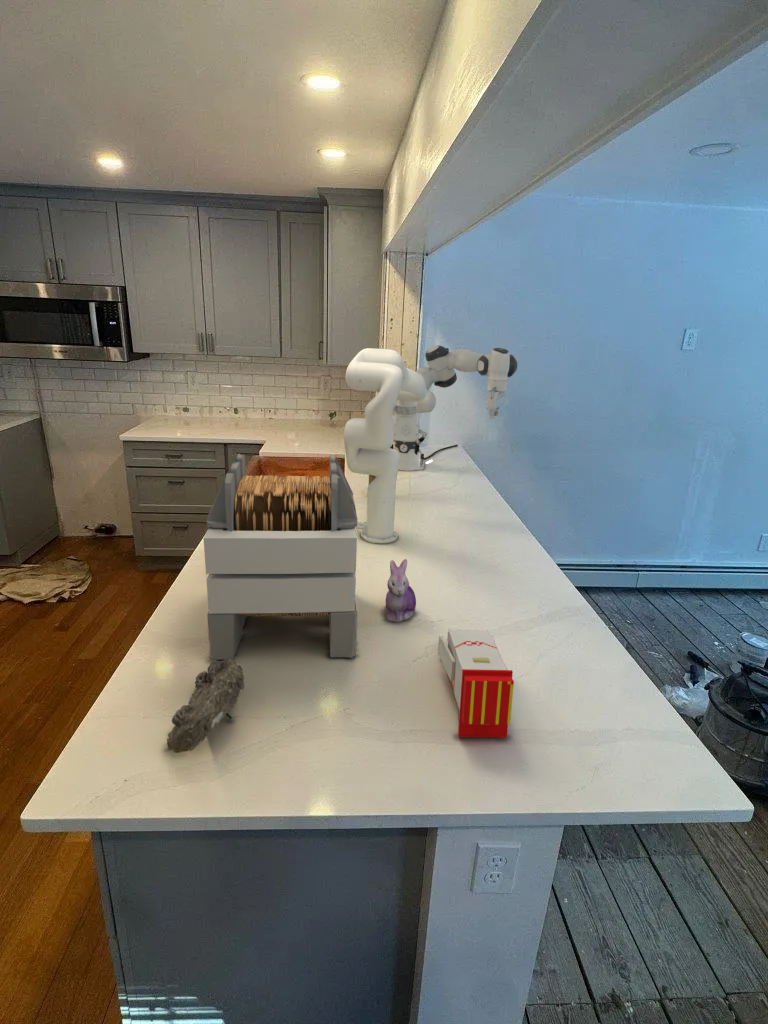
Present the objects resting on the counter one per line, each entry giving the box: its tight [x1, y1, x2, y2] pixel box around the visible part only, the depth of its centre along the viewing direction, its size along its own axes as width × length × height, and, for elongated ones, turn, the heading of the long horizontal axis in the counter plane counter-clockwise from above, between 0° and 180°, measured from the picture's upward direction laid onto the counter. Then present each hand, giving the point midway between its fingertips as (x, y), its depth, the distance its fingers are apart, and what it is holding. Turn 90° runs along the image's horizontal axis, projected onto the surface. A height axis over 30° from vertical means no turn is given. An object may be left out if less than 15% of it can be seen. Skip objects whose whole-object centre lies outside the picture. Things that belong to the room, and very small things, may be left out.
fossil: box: [166, 659, 245, 754], centre depth 106 cm, size 22×10×15 cm
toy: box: [437, 628, 515, 738], centre depth 117 cm, size 12×13×30 cm
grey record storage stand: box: [203, 453, 359, 661], centre depth 135 cm, size 34×33×41 cm
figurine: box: [384, 558, 417, 623], centre depth 145 cm, size 9×10×15 cm
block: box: [368, 475, 376, 485], centre depth 238 cm, size 4×6×12 cm
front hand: (403, 453), depth 222 cm, fingers open, 9 cm apart
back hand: (493, 417), depth 257 cm, fingers open, 8 cm apart
